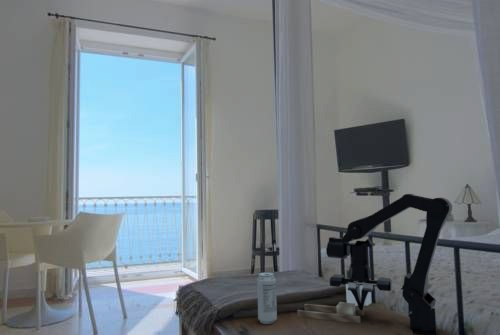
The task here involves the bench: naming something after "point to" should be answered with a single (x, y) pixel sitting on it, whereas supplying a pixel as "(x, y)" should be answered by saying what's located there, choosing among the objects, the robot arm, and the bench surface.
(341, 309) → the block
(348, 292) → the jar
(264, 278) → the energy drink can
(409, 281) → the robot arm
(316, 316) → the chute
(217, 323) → the bench surface
